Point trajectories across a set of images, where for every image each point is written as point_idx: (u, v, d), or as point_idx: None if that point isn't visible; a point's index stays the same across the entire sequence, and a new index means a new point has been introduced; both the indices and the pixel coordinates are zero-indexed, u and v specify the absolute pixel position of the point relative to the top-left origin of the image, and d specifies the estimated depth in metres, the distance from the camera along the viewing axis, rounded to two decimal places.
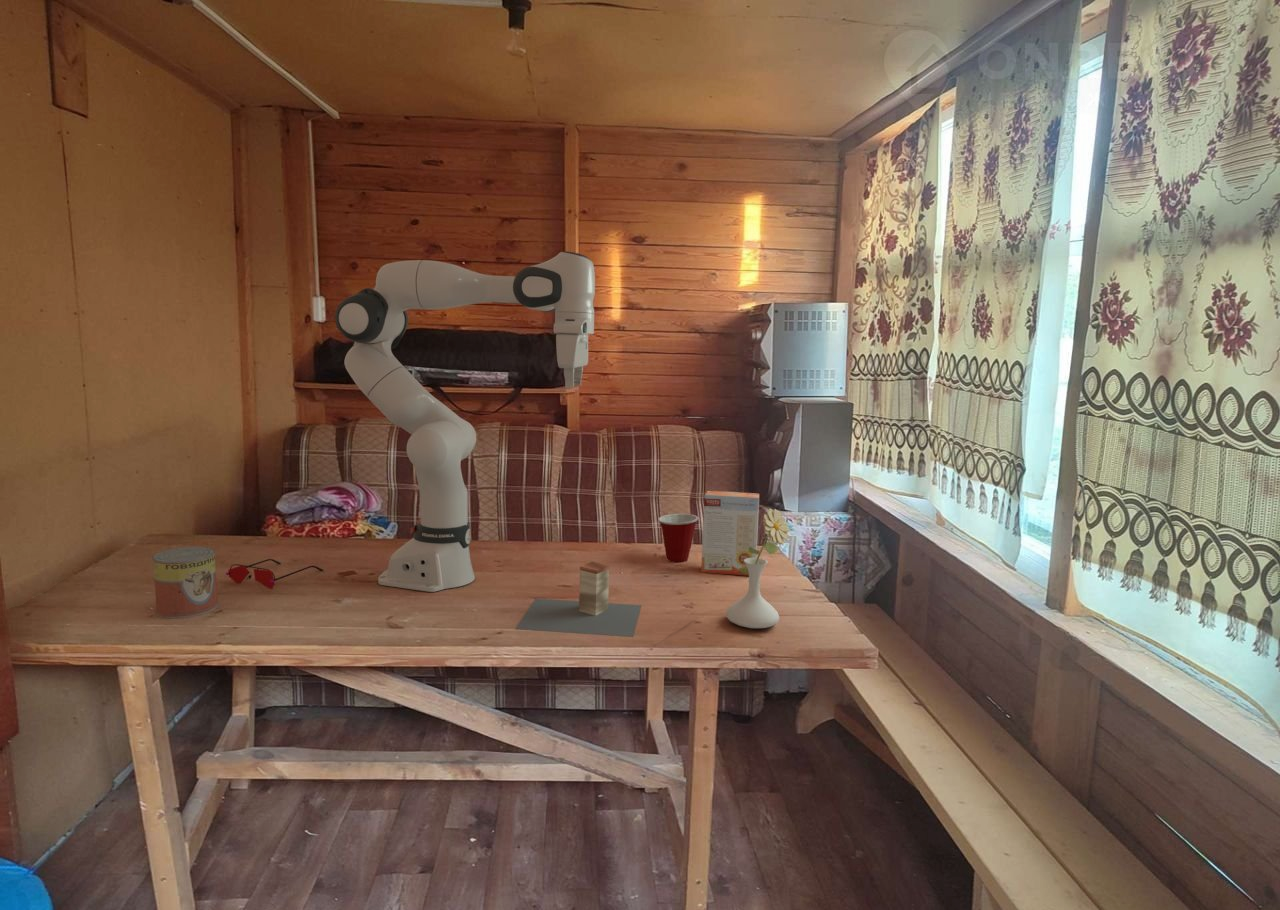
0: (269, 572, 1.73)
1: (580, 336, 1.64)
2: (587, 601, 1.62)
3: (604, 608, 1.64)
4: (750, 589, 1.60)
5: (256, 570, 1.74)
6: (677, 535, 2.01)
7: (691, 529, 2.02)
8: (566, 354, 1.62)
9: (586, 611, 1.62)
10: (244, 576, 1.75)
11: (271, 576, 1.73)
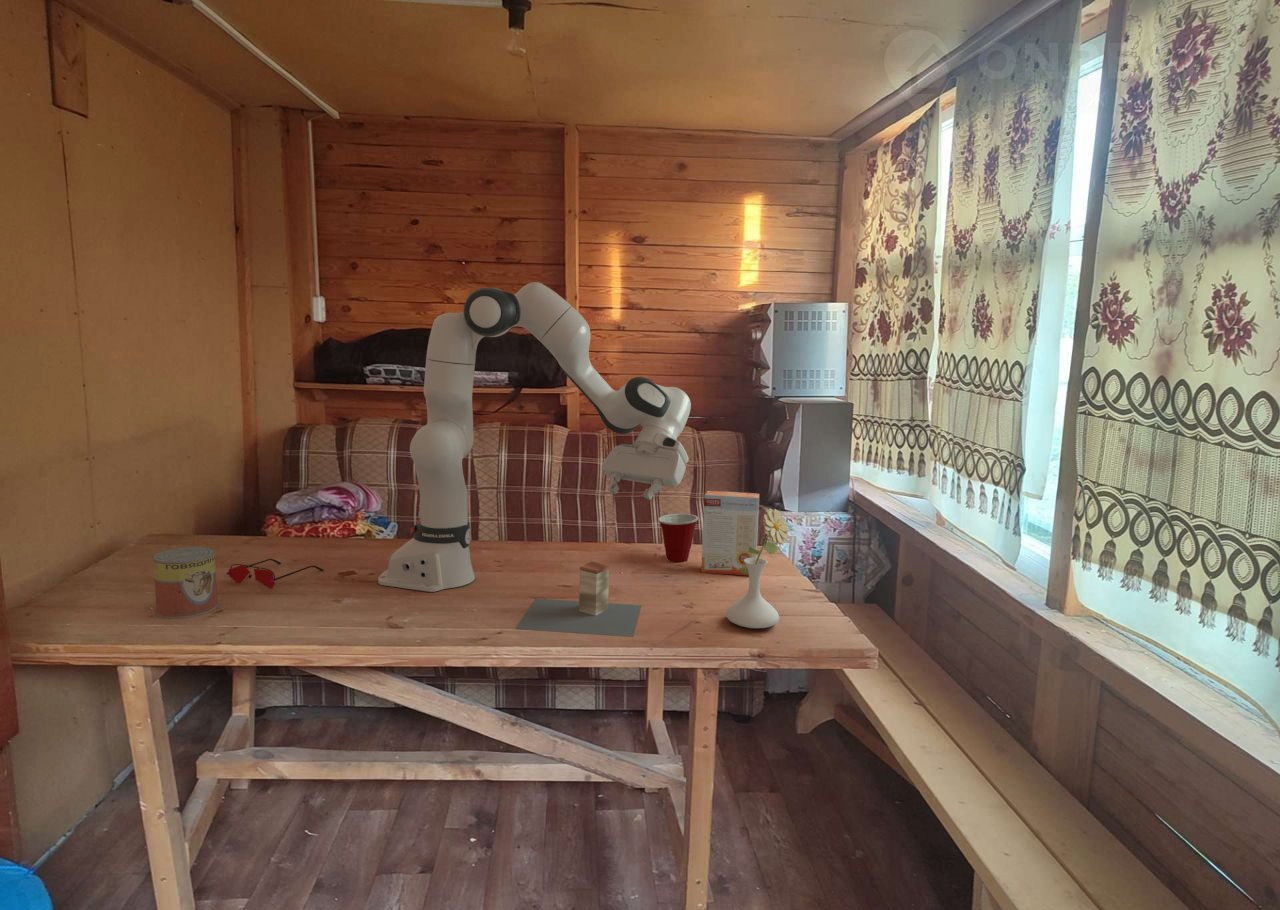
0: (269, 572, 1.73)
1: None
2: (587, 601, 1.62)
3: (604, 608, 1.64)
4: (750, 589, 1.60)
5: (256, 570, 1.74)
6: (677, 535, 2.01)
7: (691, 529, 2.02)
8: (680, 473, 1.69)
9: (586, 611, 1.62)
10: (244, 576, 1.76)
11: (271, 576, 1.73)
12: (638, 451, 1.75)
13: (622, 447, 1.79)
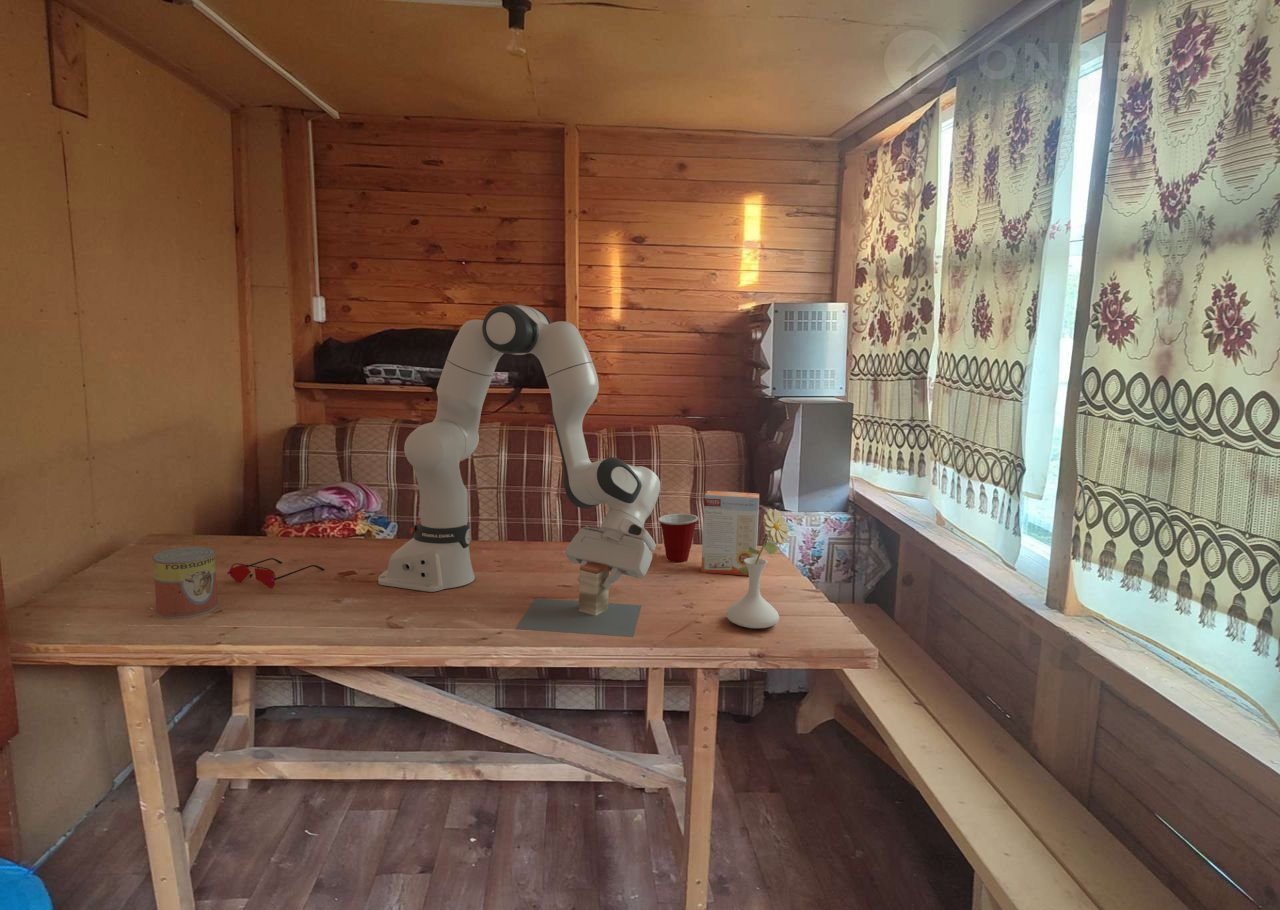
0: (270, 571, 1.73)
1: None
2: (587, 601, 1.62)
3: (604, 608, 1.64)
4: (750, 589, 1.60)
5: (257, 569, 1.75)
6: (677, 535, 2.01)
7: (691, 529, 2.02)
8: (645, 564, 1.61)
9: (586, 611, 1.62)
10: (245, 575, 1.76)
11: (272, 575, 1.73)
12: (603, 537, 1.67)
13: (587, 531, 1.71)
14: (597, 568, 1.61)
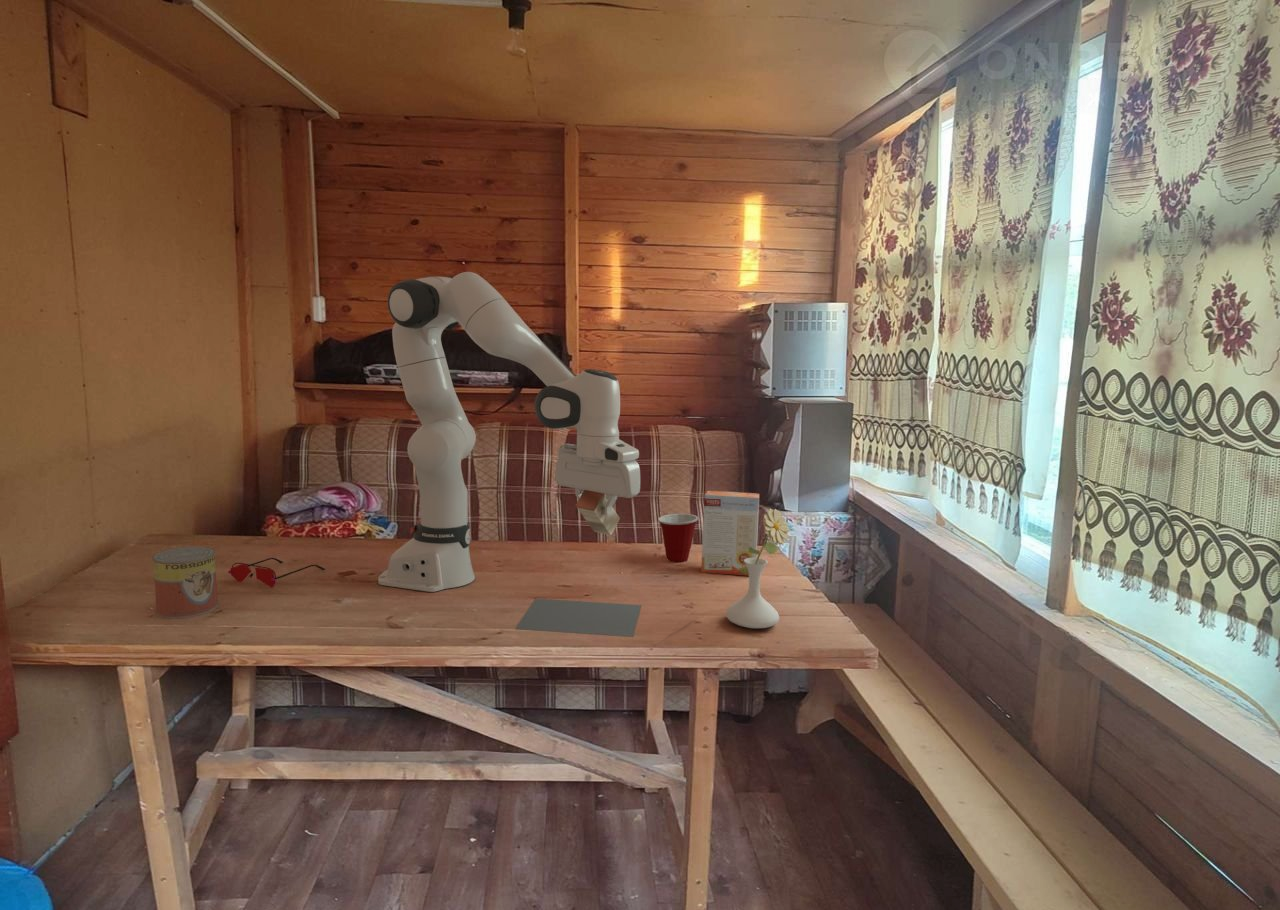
0: (270, 571, 1.74)
1: None
2: (597, 526, 1.62)
3: (616, 521, 1.64)
4: (750, 589, 1.60)
5: (257, 568, 1.75)
6: (677, 535, 2.01)
7: (691, 529, 2.02)
8: (635, 483, 1.54)
9: (601, 532, 1.64)
10: (246, 574, 1.77)
11: (272, 575, 1.74)
12: (584, 463, 1.58)
13: (566, 455, 1.61)
14: (592, 503, 1.57)
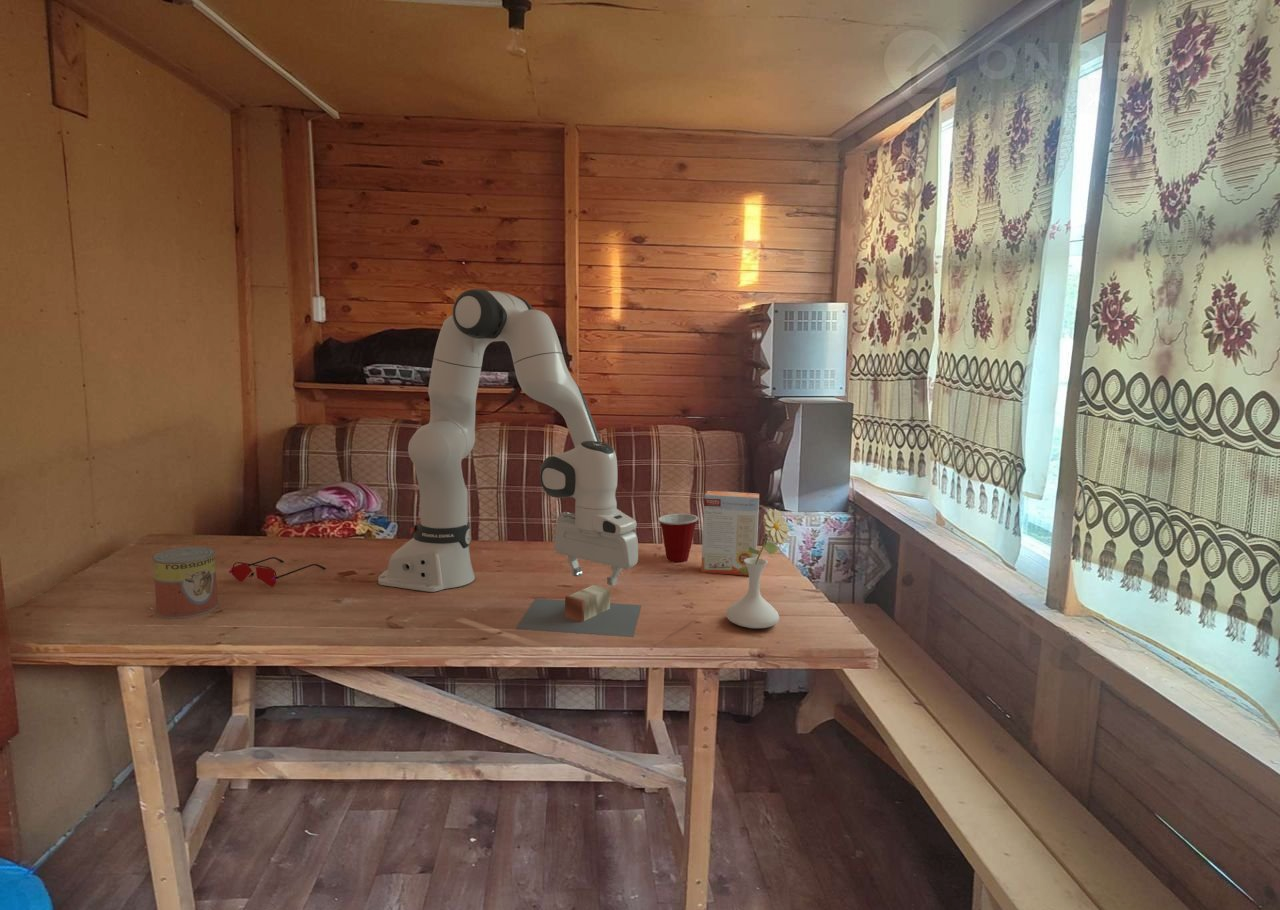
0: (271, 570, 1.74)
1: None
2: None
3: (608, 595, 1.64)
4: (750, 589, 1.60)
5: (258, 568, 1.76)
6: (677, 535, 2.01)
7: (691, 529, 2.02)
8: (633, 554, 1.57)
9: None
10: (246, 574, 1.77)
11: (273, 574, 1.74)
12: None
13: (565, 525, 1.64)
14: (579, 615, 1.57)
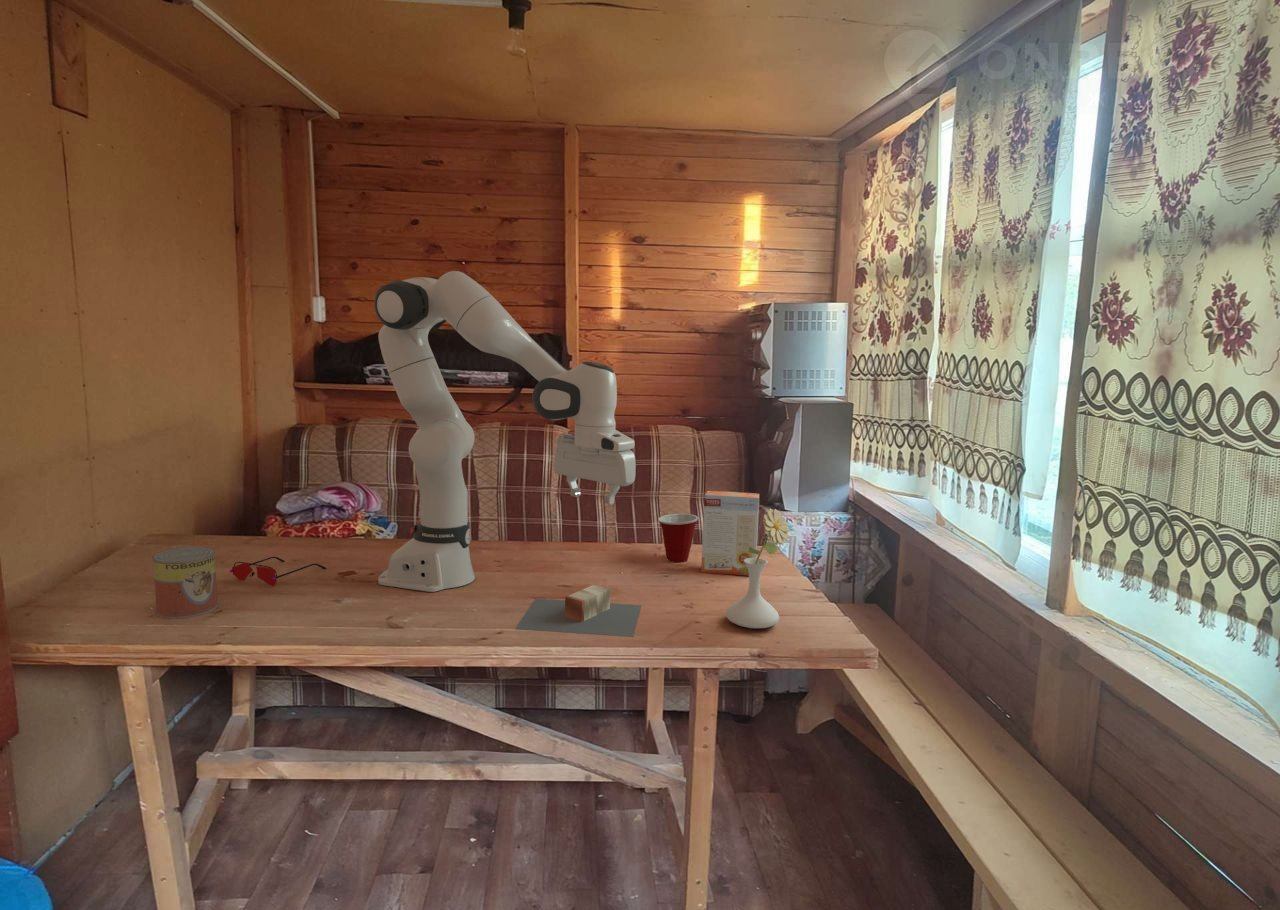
0: (271, 569, 1.75)
1: None
2: None
3: (608, 595, 1.64)
4: (750, 589, 1.60)
5: (259, 567, 1.76)
6: (677, 535, 2.01)
7: (691, 529, 2.02)
8: (631, 472, 1.60)
9: None
10: (247, 573, 1.77)
11: (273, 573, 1.75)
12: (581, 453, 1.64)
13: (565, 445, 1.67)
14: (579, 615, 1.57)
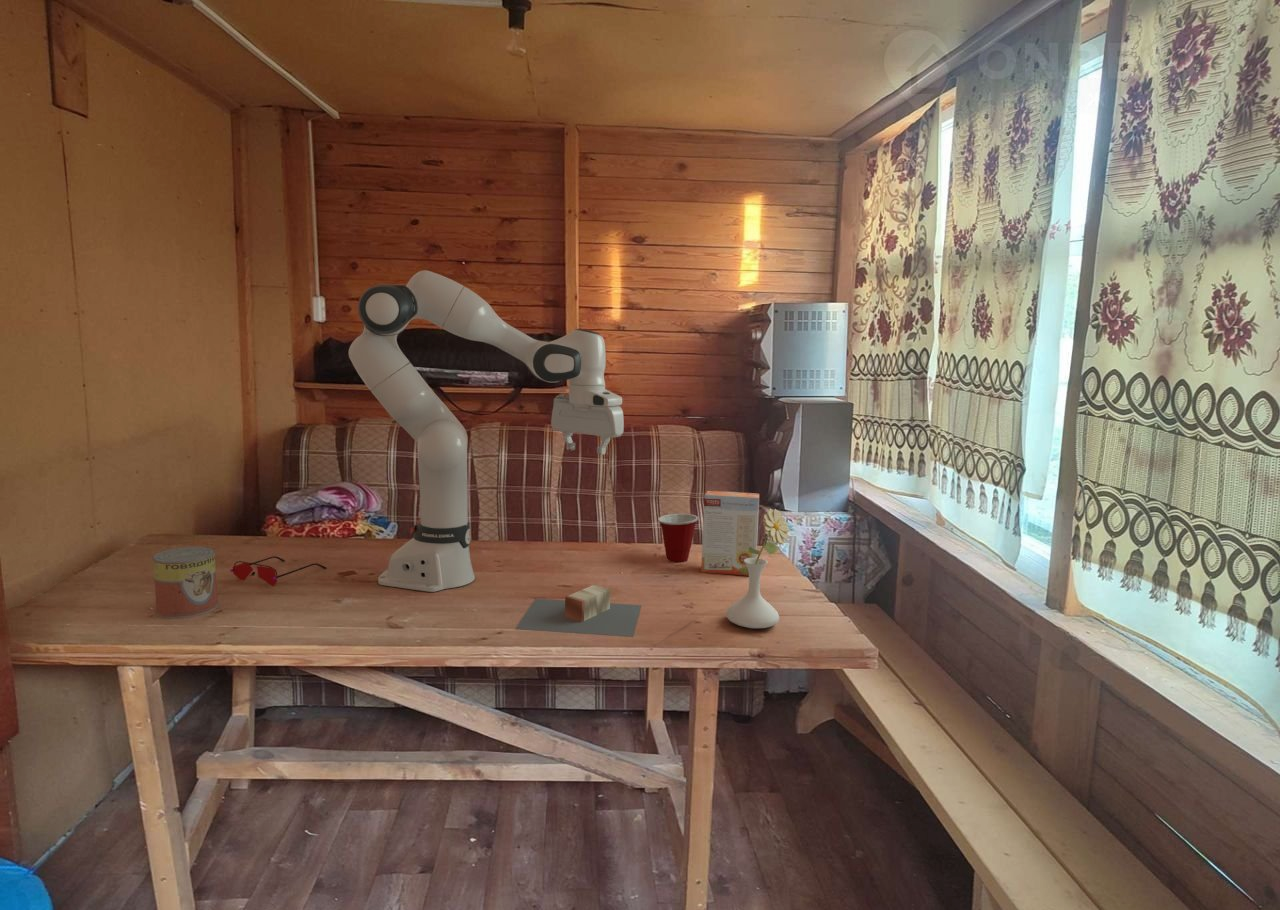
0: (272, 569, 1.75)
1: None
2: None
3: (608, 595, 1.64)
4: (750, 589, 1.60)
5: (259, 567, 1.76)
6: (677, 535, 2.01)
7: (691, 529, 2.02)
8: (619, 425, 1.81)
9: None
10: (248, 573, 1.78)
11: (273, 573, 1.75)
12: (575, 410, 1.85)
13: (560, 404, 1.88)
14: (579, 615, 1.57)
